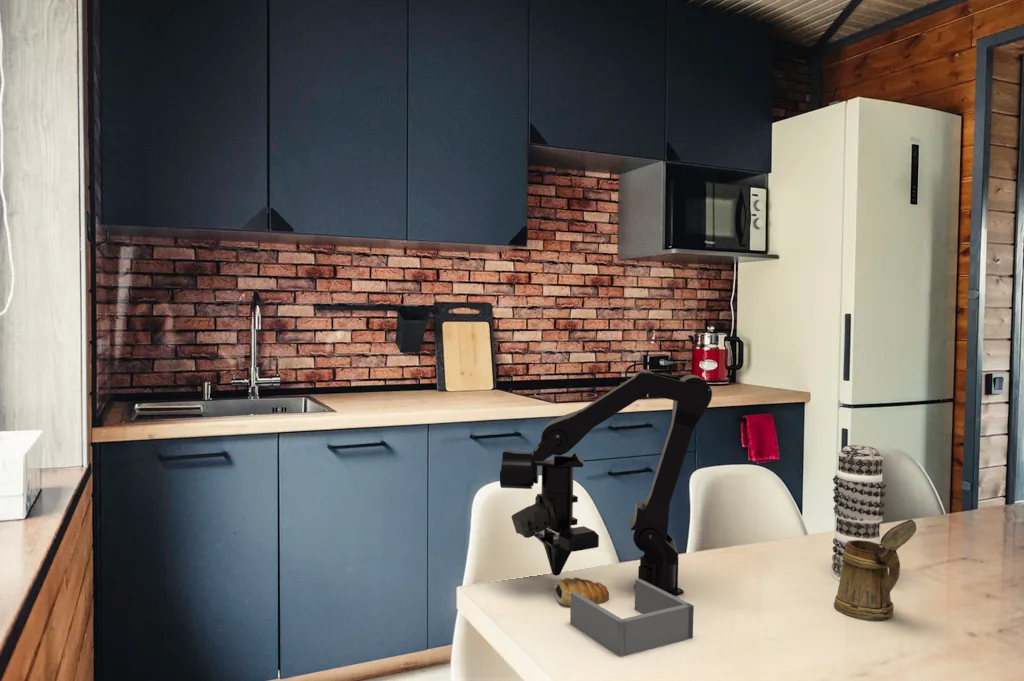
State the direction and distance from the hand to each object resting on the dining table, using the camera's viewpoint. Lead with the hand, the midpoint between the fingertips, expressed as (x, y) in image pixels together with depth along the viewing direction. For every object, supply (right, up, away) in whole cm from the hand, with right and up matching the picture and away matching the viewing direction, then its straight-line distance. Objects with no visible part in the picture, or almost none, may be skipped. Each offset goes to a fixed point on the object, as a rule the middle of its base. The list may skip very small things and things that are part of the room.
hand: (556, 574), depth 139 cm
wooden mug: (+52, -4, -11) cm, 54 cm away
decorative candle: (+57, -3, +6) cm, 58 cm away
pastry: (+4, -3, -6) cm, 8 cm away
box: (+11, -3, -19) cm, 22 cm away
